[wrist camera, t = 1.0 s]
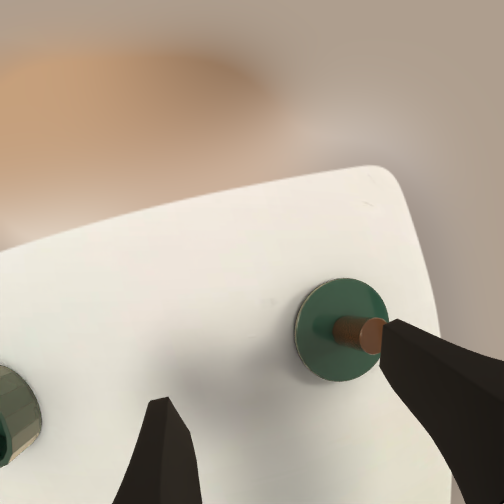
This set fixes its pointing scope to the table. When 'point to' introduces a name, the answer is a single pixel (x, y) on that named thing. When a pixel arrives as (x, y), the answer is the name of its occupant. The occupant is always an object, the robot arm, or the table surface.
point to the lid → (341, 329)
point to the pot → (16, 416)
